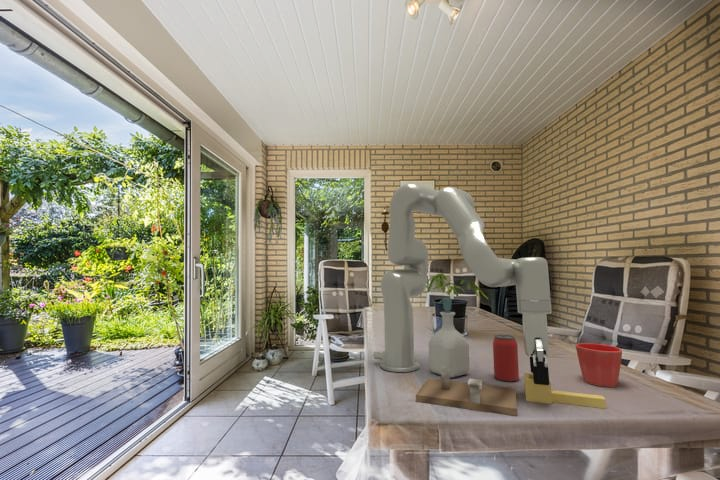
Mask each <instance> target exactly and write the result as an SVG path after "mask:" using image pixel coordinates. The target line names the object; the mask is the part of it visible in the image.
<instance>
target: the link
mask: <svg viewBox="0 0 720 480" xmlns="http://www.w3.org/2000/svg"><path fill="white" fill-rule="evenodd" d="M523 375H524V376H523V377H524V378H523V379H524V380H523V381H524V393H525V394H524V395H525V399H526V400H525V401H526V402H534V403H541V404H547V405H548V404H549V405H553V403H557V404H565V405H574V406H583V407H588V408H589V407H591V408H598V409H604V410H605V409H607V403H606V398H605V397H604V396H603V395H599V394H588V393H580V392H571V391H564V390H562V391H561V390H554V389H552V381H551V378H549V385H539V384H534V380H533V373H528V372H524V373H523Z"/></svg>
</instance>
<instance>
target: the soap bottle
mask: <svg viewBox="0 0 720 480" xmlns="http://www.w3.org/2000/svg"><path fill="white" fill-rule="evenodd" d="M452 301H453V299H452V297H451V298H450V297H444V298H443V297H442V300H440V301H439V302H437V304H439V305H440V303H442V306H443V310H444V311H440V312H439V315H440V316H441V319H442V324H441V327H440V329H439V330H438V331H436V332H435V333H434V334H433V335H432V336H431V338H430V339H429V341H428V360H429V361H428V363H429V364H428V365H429V370H430V371H431V372H432V373H434V374H436V375H440V376H442V373H441V366H442V365H447V366H449V368H450V379H451V378H456V377H460V376H463V375H467V374H468V373H469V372H470V347H469V346H470V344H469V341H468V340H467V339H466V338H465V336H463V335H462V334H461V332H459V331H458V330H457V329H456V328H455V325H454V316H455V315H456V312H455V311H451V310H452Z"/></svg>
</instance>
